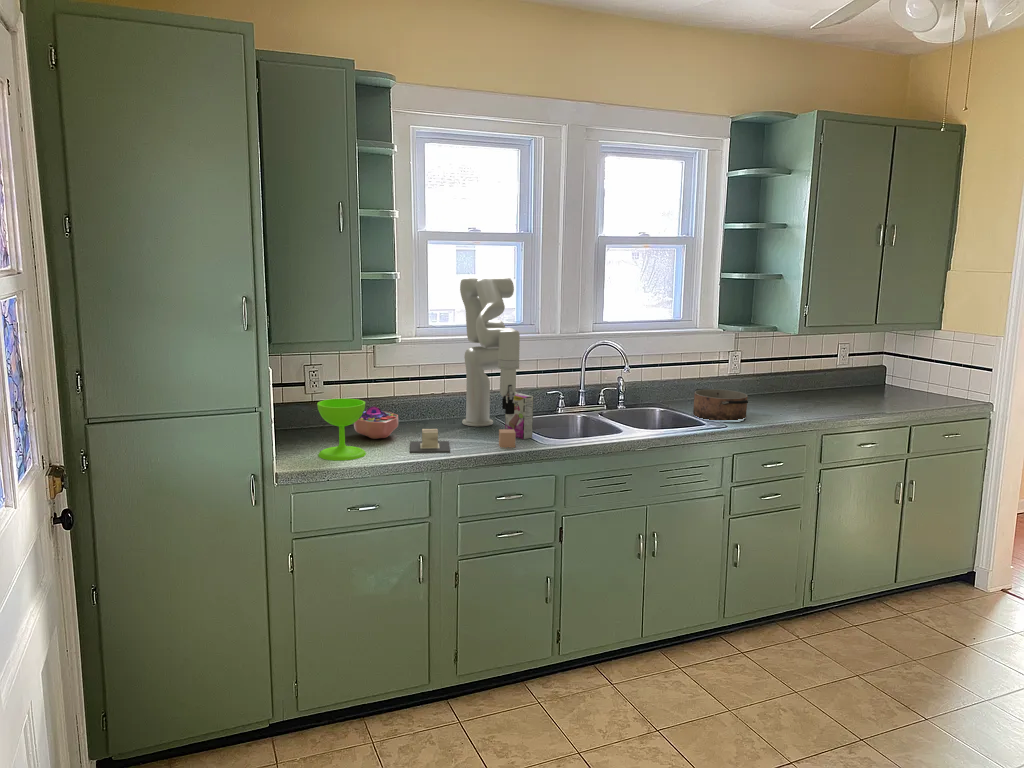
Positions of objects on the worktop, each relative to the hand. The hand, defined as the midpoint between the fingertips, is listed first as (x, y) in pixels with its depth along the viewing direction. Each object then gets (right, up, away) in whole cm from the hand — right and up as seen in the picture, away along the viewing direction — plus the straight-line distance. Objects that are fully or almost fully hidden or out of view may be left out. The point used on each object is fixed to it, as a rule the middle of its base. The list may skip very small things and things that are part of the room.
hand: (508, 411), depth 280 cm
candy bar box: (+4, -10, +17) cm, 20 cm away
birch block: (-28, -12, -3) cm, 31 cm away
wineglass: (-57, -14, -14) cm, 60 cm away
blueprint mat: (-28, -13, -3) cm, 31 cm away
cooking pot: (+92, -5, +59) cm, 109 cm away
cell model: (-50, -10, +11) cm, 52 cm away
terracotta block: (0, -13, +3) cm, 13 cm away
